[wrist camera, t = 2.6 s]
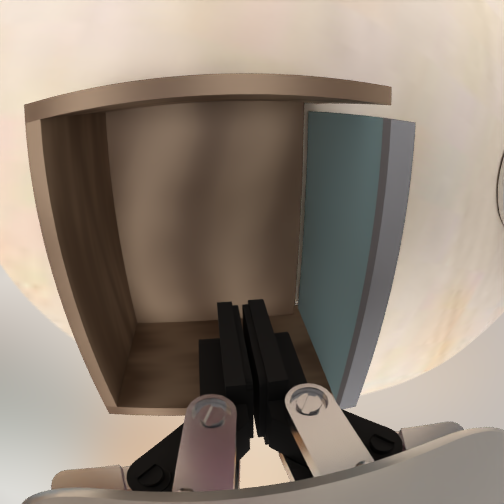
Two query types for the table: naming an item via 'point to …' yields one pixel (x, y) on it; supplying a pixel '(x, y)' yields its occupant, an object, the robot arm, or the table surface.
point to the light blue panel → (351, 238)
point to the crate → (174, 219)
